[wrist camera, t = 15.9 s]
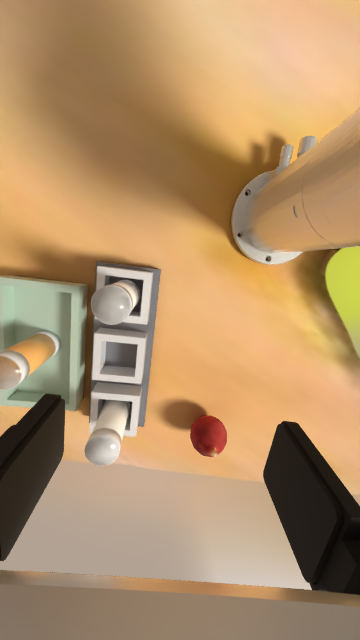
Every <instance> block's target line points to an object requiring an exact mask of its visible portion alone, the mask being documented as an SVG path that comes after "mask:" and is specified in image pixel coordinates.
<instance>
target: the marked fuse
mask: <svg viewBox="0 0 360 640" xmlns="http://www.w3.org/2000/svg"><path fill="white" fill-rule="evenodd" d="M60 348H61V341H60V339H59V337H58V336H57V335H56V334H55V333H54V332H52V331H48V330H43V331H39V332H38V333H36V334H34V335H32V336H31V337H29V338H27V339H25V340H23V341H21V342H20V343H18V344H16V345H14V346H12V347H10V348H8V349H7V350H5V351H2V352H0V389H2V390H8V389H12V388H14V387H16V386H17V385H18V384H19V383H21V382H22V381H23V380H24V379H25V378H26V377H27V376H29V375H30V374H31V373H32V372H33V371H35V370H36V369H37V368H38V367H40V366H41V365H42V364H43V363H45V362H46V361H47V360H48V359H50V358H51V357H53V356H54V355H55V354H56V353H57V352H58V351H59V350H60Z"/></svg>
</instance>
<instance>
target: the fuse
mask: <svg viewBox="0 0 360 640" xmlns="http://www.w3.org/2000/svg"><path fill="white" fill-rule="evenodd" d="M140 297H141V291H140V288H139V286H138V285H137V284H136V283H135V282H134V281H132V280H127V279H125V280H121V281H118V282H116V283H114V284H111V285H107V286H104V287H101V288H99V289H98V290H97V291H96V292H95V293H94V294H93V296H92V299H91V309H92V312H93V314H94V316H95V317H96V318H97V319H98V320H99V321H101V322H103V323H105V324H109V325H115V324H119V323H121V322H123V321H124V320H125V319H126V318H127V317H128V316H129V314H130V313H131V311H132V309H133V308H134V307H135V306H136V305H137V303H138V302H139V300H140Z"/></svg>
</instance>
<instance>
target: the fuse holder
mask: <svg viewBox="0 0 360 640" xmlns="http://www.w3.org/2000/svg"><path fill="white" fill-rule="evenodd" d="M160 272H161V269H153V268H145V267H137V266H130V265H122V264H114V263H106V262H96V280H95V292H96V291H97V290H98V289H99V288H101V287H104V286H107V285H111V284H114V283H116V282H118V281H121V280H125V279H127V280H132V281H134V282H135V283H136V284H137V285H138V286H139V288H140V291H141V297H140V300H139V302H138V303H137V305H136V306H135V307H134V308H133V309H132V311H131V313H130V314H129V316H128V317H127V318H126V319H125V320H124V321H123V322H121V323H119V324H115V325H109V324H105V323H103V322H101V321H99V320H98V319H97V318H96V317H95V316H94V325H93V347H92V369H91V391H90V414H89V423H90V434H92V432H93V429H94V427H95V425H96V422H97V420H98V418H99V416H100V413H101V411H102V409H103V406H104V403H105V401H106V400H119V401H131V407H130V411H129V414H128V418H127V422H126V426H125V430H124V434H123V436H135V437H136V433H137V428H138V426H141V427H144V422H145V413H146V404H147V394H148V385H149V376H150V366H151V357H152V347H153V338H154V329H155V319H156V310H157V300H158V291H159V281H160Z"/></svg>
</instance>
